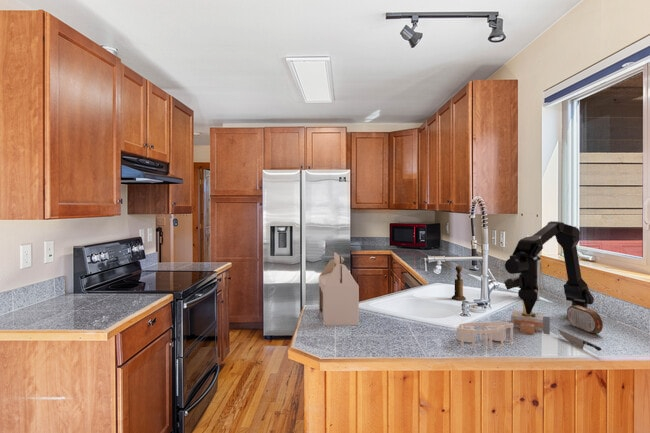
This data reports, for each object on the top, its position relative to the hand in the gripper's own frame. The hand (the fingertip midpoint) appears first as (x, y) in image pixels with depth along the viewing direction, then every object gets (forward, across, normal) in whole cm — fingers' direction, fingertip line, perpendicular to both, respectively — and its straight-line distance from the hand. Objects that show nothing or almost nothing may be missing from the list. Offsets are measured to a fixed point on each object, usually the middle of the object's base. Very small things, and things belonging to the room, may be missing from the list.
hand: (528, 312), depth 145 cm
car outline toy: (+6, +30, -12) cm, 33 cm away
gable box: (+6, +33, -66) cm, 74 cm away
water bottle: (+6, -53, 0) cm, 53 cm away
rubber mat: (+6, -6, 0) cm, 8 cm away
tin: (+6, -7, +18) cm, 20 cm away
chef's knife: (+6, +15, +15) cm, 22 cm away
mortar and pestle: (+6, -29, -32) cm, 43 cm away
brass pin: (+5, 0, 0) cm, 5 cm away
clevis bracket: (+6, 0, 0) cm, 6 cm away
